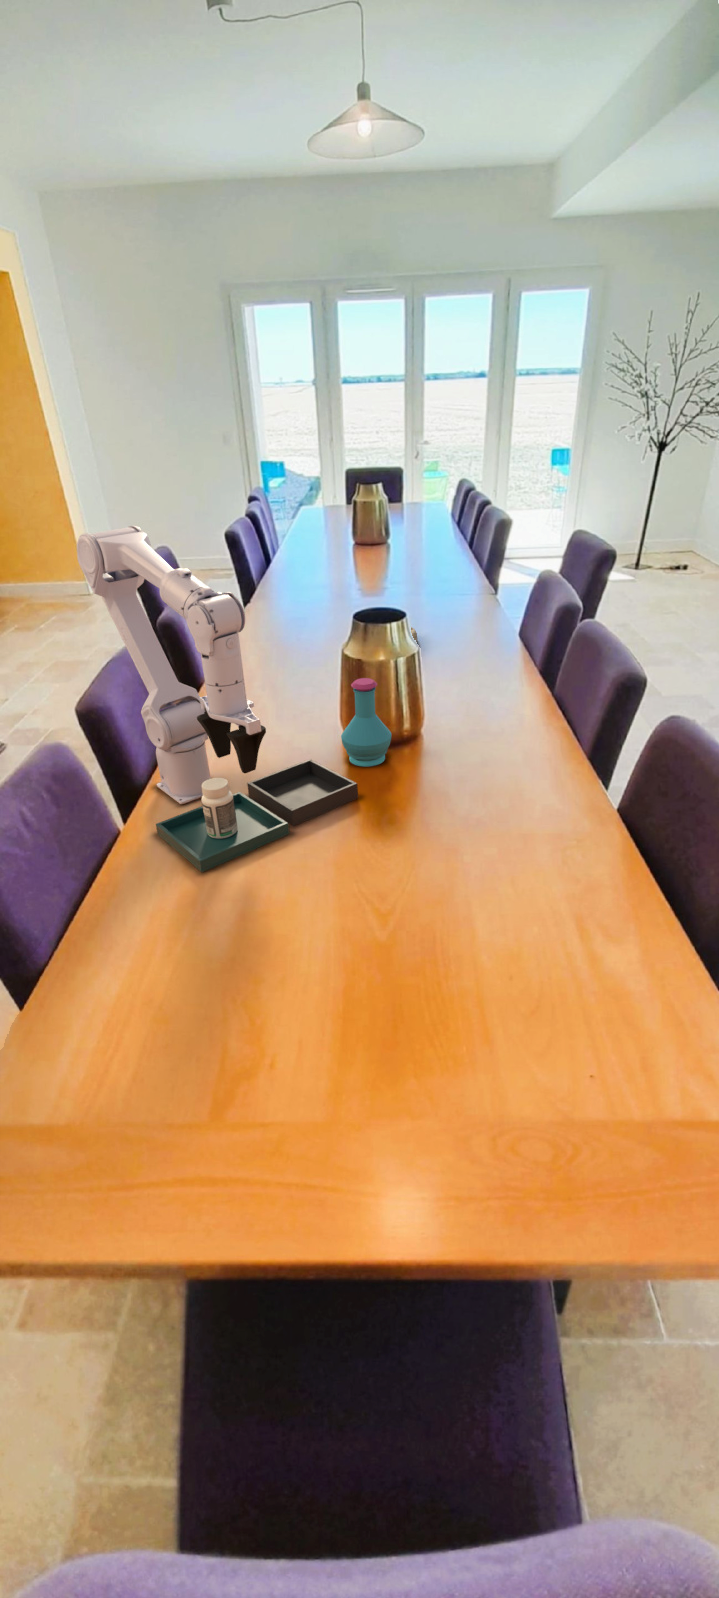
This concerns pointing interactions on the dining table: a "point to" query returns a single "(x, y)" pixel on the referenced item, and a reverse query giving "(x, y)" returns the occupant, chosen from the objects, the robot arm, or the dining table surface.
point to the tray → (210, 852)
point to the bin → (302, 791)
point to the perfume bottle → (365, 728)
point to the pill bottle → (218, 808)
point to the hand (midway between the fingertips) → (236, 763)
